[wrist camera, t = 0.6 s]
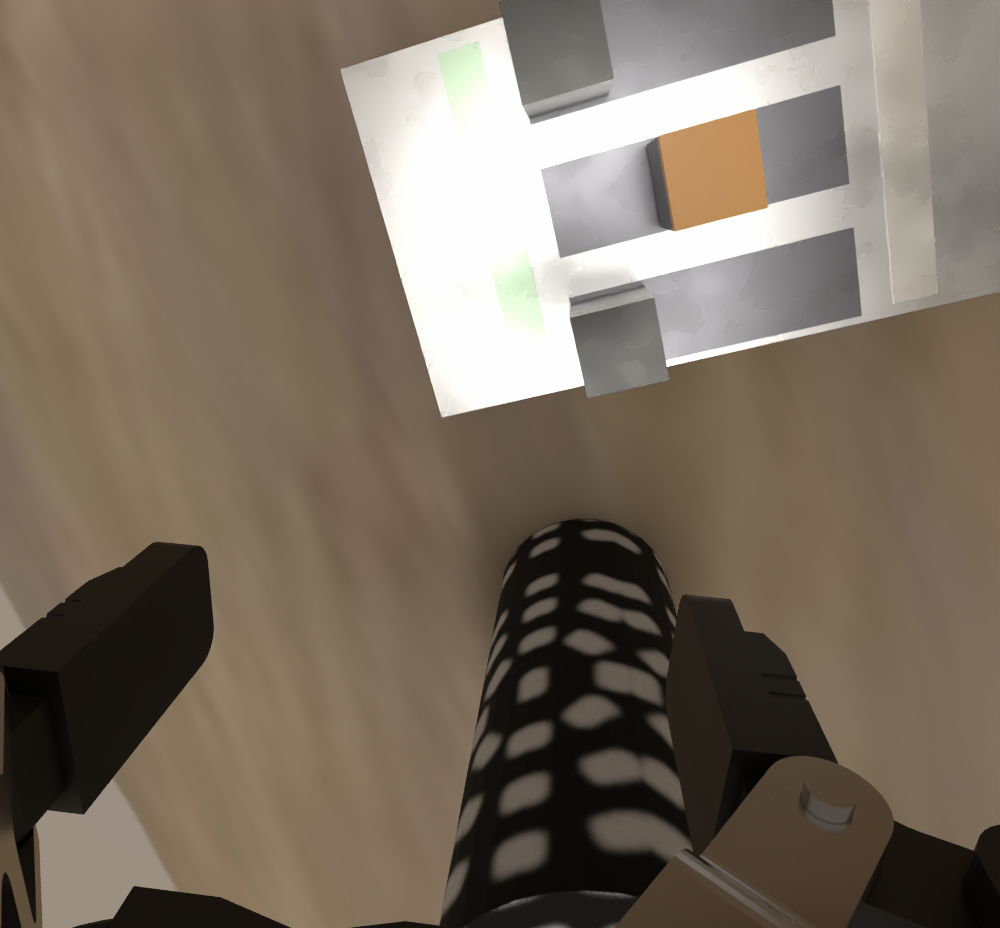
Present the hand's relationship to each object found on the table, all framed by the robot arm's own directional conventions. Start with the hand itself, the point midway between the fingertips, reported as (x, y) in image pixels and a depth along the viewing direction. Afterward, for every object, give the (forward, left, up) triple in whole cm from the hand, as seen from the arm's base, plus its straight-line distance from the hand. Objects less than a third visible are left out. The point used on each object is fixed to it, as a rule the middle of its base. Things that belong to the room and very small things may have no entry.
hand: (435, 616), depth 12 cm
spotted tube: (0, +12, -22) cm, 25 cm away
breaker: (-8, -6, -19) cm, 21 cm away
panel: (-8, -6, -22) cm, 24 cm away
